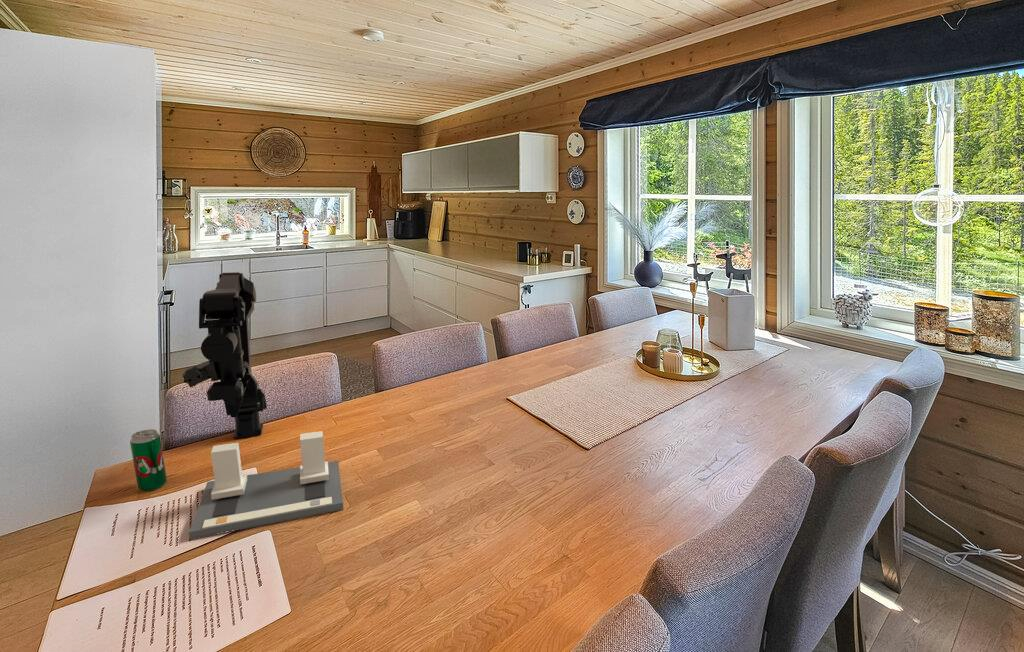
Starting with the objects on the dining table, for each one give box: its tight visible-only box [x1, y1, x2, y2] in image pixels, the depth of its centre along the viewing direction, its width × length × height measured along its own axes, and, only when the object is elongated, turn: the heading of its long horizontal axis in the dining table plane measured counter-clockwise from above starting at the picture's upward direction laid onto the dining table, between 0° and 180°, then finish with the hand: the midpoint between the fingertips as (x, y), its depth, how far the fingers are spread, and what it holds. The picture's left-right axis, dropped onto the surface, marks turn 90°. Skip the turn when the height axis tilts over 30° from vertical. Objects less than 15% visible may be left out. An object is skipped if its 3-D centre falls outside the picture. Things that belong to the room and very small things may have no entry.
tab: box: [299, 430, 329, 484], centre depth 105 cm, size 6×6×9 cm
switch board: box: [188, 460, 344, 540], centre depth 101 cm, size 18×26×2 cm
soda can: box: [129, 429, 168, 492], centre depth 103 cm, size 5×5×12 cm
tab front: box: [210, 442, 248, 500], centre depth 99 cm, size 6×6×9 cm
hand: (234, 415), depth 112 cm, fingers closed
